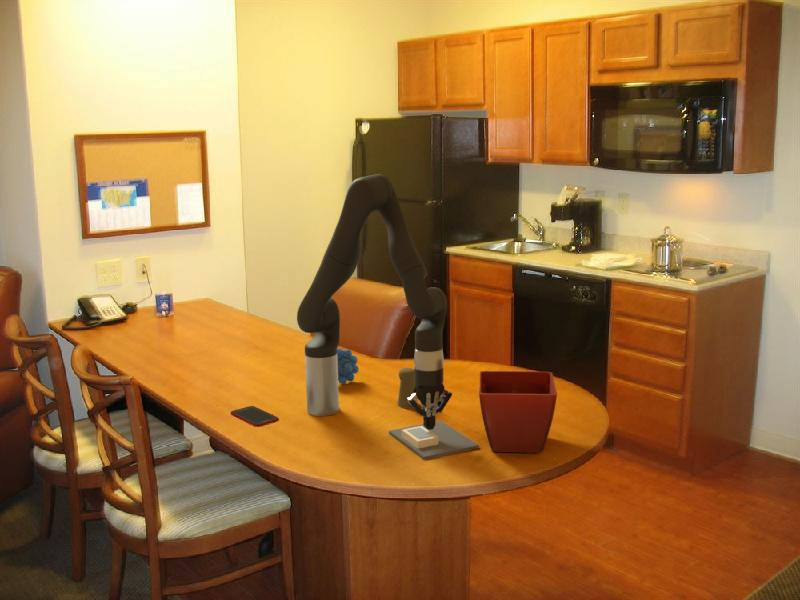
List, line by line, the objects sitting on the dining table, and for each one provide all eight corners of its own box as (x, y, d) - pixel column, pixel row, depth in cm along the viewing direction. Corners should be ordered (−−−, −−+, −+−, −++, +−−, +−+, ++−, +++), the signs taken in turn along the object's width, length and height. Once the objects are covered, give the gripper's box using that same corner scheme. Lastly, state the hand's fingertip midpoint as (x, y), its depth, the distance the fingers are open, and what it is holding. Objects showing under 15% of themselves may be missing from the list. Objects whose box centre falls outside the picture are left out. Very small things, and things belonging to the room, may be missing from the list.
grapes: (335, 391, 266) (334, 353, 263) (323, 385, 271) (322, 349, 268) (366, 383, 273) (365, 347, 270) (354, 378, 278) (353, 342, 275)
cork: (394, 406, 251) (394, 370, 249) (401, 400, 257) (401, 364, 254) (414, 408, 249) (413, 372, 247) (420, 402, 255) (420, 366, 252)
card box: (421, 432, 229) (401, 436, 226) (421, 425, 228) (401, 429, 226) (438, 444, 221) (417, 448, 218) (438, 436, 220) (417, 440, 218)
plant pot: (479, 429, 233) (479, 369, 229) (550, 430, 231) (552, 371, 227) (478, 457, 214) (478, 393, 211) (555, 459, 213) (557, 394, 209)
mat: (388, 433, 231) (388, 430, 231) (440, 423, 238) (440, 420, 237) (423, 459, 213) (423, 456, 213) (478, 447, 220) (478, 445, 220)
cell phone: (252, 408, 253) (252, 405, 252) (280, 421, 242) (280, 418, 242) (229, 414, 248) (229, 411, 247) (256, 428, 237) (256, 425, 237)
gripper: (444, 358, 227) (444, 419, 230) (399, 365, 221) (400, 428, 225) (458, 365, 220) (458, 429, 224) (412, 373, 214) (413, 438, 218)
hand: (429, 428), depth 224 cm, fingers closed
